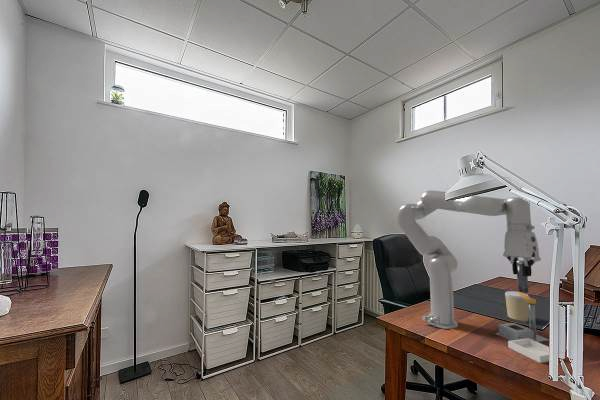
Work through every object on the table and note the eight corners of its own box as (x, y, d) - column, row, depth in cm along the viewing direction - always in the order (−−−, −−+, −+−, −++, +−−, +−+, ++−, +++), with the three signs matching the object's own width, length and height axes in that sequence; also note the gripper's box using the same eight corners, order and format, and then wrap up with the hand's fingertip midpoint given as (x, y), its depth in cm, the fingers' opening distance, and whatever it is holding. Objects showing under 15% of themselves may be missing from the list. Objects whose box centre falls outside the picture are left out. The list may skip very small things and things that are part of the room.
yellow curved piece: (515, 294, 124) (515, 290, 124) (523, 294, 123) (523, 291, 123) (528, 303, 111) (528, 299, 111) (537, 304, 110) (537, 300, 110)
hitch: (519, 346, 103) (517, 310, 104) (494, 334, 113) (493, 302, 113) (550, 341, 107) (548, 306, 107) (524, 330, 116) (522, 299, 117)
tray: (540, 364, 90) (540, 356, 91) (508, 348, 101) (508, 341, 101) (562, 360, 93) (561, 352, 93) (528, 345, 103) (528, 338, 104)
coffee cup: (518, 314, 134) (517, 290, 135) (535, 322, 125) (534, 296, 126) (501, 315, 134) (500, 291, 135) (516, 322, 125) (515, 297, 125)
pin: (524, 293, 102) (522, 261, 103) (515, 291, 105) (513, 260, 106) (530, 292, 103) (528, 261, 104) (521, 290, 106) (519, 260, 107)
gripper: (549, 228, 99) (553, 279, 98) (505, 227, 114) (507, 270, 113) (535, 229, 97) (538, 280, 95) (491, 227, 112) (494, 271, 111)
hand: (522, 274), depth 104 cm, fingers closed on pin, 3 cm apart
